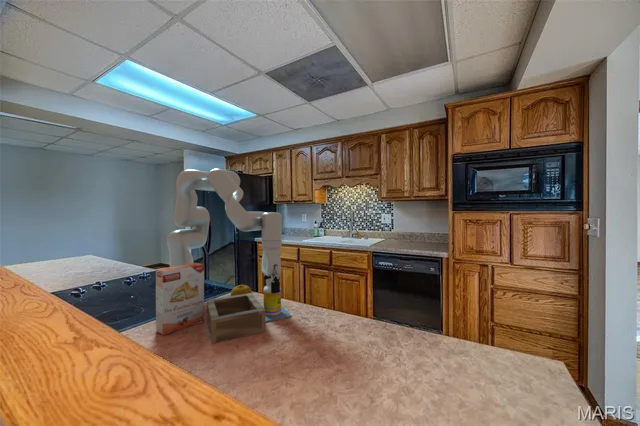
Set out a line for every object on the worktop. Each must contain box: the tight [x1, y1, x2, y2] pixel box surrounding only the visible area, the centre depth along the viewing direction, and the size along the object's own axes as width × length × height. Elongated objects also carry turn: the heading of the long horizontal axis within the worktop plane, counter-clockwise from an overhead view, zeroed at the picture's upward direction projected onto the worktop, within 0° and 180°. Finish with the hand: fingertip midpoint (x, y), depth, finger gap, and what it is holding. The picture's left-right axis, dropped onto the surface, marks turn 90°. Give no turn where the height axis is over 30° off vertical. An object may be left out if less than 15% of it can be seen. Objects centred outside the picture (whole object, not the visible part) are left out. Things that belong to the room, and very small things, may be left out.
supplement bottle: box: [262, 278, 282, 316], centre depth 99 cm, size 7×7×13 cm
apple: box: [230, 284, 253, 296], centre depth 108 cm, size 9×8×9 cm
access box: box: [206, 292, 267, 344], centre depth 90 cm, size 20×16×7 cm
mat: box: [265, 305, 293, 323], centre depth 99 cm, size 11×11×1 cm
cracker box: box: [155, 262, 205, 336], centre depth 90 cm, size 14×6×21 cm, turn 143°
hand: (271, 289), depth 99 cm, fingers open, 9 cm apart
